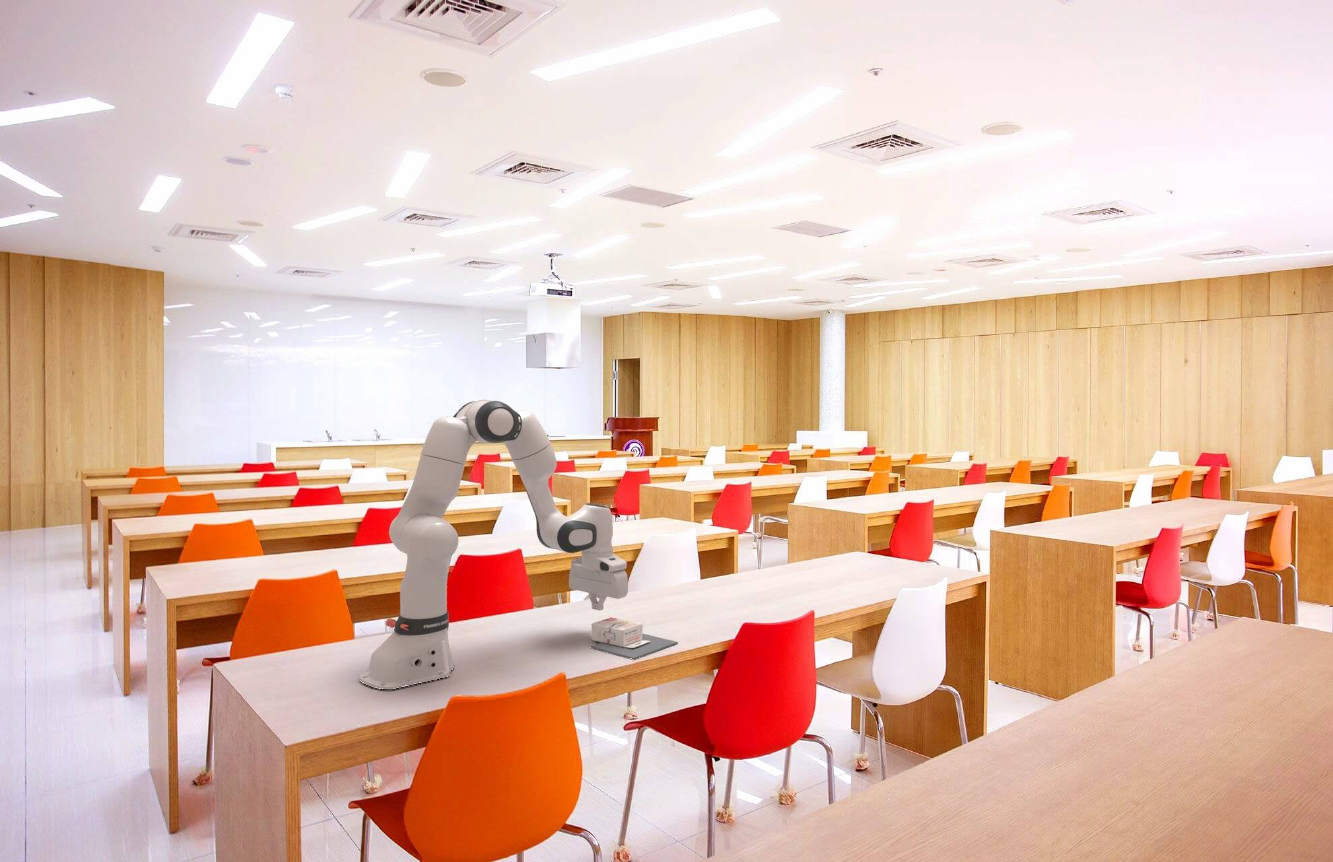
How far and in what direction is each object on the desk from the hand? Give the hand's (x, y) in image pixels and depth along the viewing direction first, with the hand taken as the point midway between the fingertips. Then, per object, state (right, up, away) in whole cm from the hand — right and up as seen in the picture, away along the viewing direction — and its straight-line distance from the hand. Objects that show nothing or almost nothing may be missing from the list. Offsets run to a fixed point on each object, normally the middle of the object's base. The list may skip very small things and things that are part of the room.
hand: (597, 609), depth 229 cm
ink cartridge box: (+1, -5, -1) cm, 5 cm away
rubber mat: (+11, -8, -7) cm, 15 cm away
